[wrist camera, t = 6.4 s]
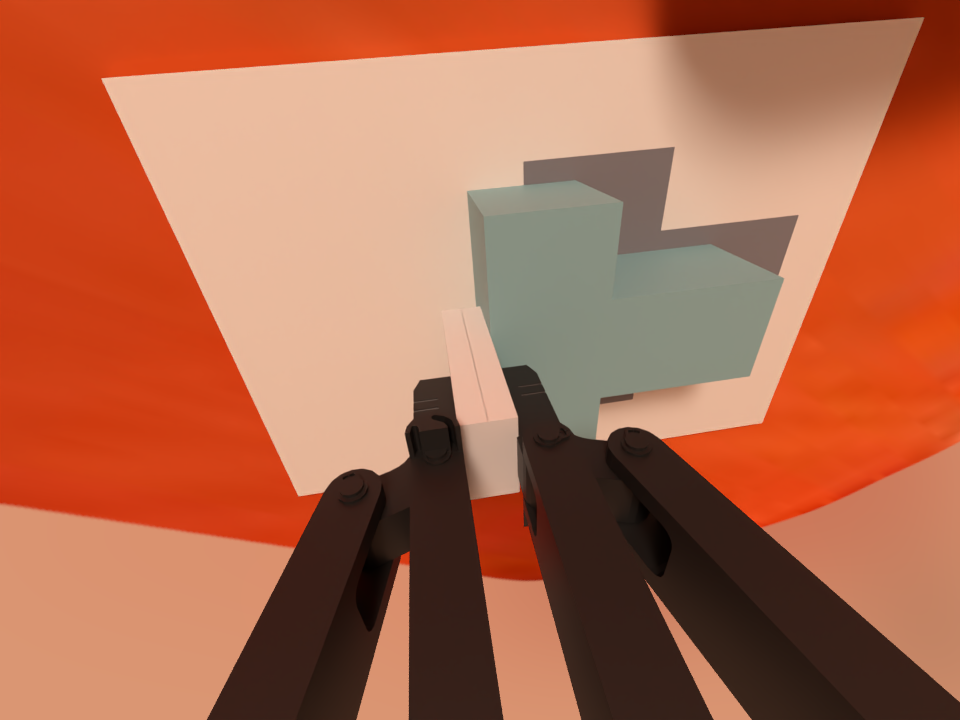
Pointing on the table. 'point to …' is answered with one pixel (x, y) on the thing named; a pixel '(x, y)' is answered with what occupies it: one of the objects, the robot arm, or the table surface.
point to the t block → (607, 300)
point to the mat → (484, 165)
